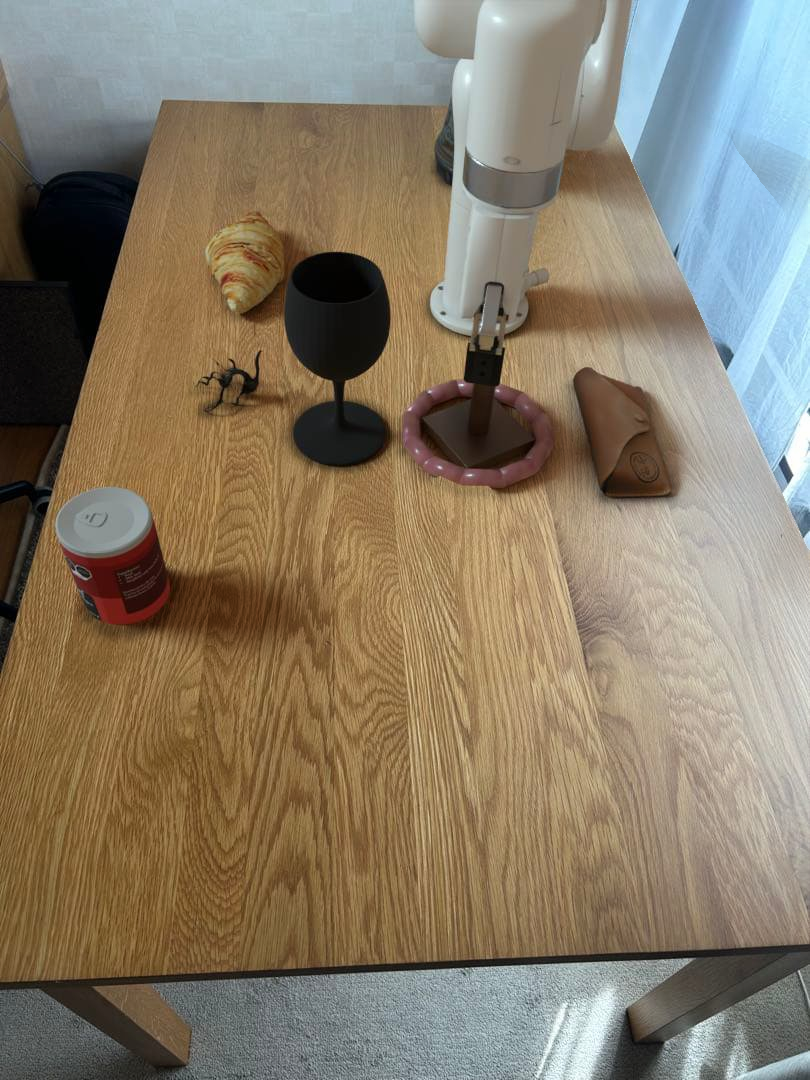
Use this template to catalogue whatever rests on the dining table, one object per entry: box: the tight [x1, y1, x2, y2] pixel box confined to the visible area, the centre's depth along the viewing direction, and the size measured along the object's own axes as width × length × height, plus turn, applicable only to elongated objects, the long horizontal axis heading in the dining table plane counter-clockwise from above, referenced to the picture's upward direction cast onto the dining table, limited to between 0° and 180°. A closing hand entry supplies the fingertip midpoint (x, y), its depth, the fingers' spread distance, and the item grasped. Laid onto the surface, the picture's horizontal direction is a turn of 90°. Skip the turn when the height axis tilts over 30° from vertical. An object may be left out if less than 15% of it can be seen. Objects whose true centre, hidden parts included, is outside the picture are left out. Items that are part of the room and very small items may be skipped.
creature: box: [195, 349, 263, 413], centre depth 101 cm, size 8×5×8 cm
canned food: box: [54, 486, 171, 626], centre depth 80 cm, size 8×8×11 cm
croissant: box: [204, 211, 285, 315], centre depth 117 cm, size 21×10×8 cm, turn 1°
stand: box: [421, 384, 535, 469], centre depth 97 cm, size 9×9×10 cm
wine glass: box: [283, 251, 392, 467], centre depth 92 cm, size 10×10×20 cm
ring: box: [401, 378, 555, 489], centre depth 99 cm, size 17×17×2 cm
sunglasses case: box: [572, 366, 673, 499], centre depth 100 cm, size 18×7×7 cm, turn 3°
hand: (487, 347), depth 83 cm, fingers open, 9 cm apart
